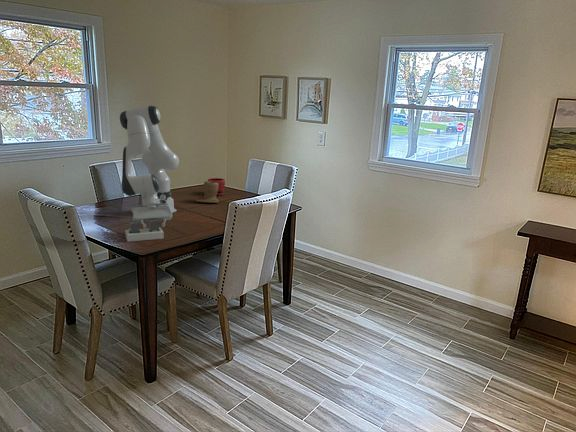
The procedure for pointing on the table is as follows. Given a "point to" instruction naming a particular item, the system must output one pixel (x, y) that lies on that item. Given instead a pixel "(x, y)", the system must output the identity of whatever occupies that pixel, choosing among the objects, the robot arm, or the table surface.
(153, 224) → the plug
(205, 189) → the tan boot
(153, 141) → the robot arm
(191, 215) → the table surface
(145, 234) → the power strip
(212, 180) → the plant pot
